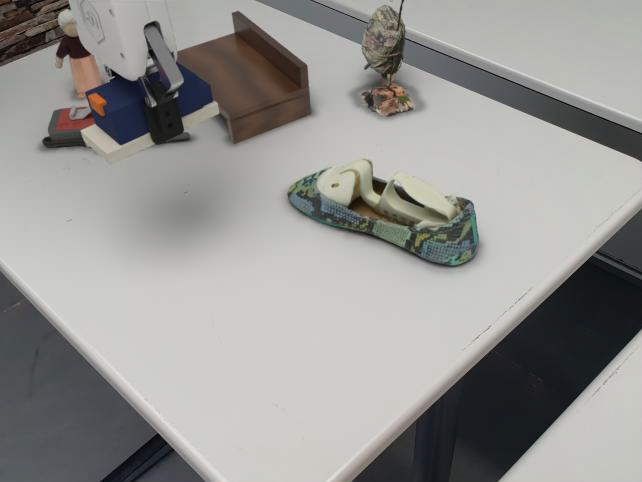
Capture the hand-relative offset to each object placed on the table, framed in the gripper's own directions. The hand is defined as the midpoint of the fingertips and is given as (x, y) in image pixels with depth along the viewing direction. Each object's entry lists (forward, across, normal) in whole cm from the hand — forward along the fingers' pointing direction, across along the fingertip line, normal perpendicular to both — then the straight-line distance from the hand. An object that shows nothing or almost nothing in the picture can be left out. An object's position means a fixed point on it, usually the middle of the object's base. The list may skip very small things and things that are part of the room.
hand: (151, 123), depth 66 cm
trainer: (0, 0, 0) cm, 0 cm away
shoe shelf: (+17, -23, +24) cm, 37 cm away
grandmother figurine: (+18, -40, +9) cm, 45 cm away
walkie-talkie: (+18, -27, +6) cm, 33 cm away
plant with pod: (+18, -8, +39) cm, 43 cm away
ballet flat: (+17, +11, +20) cm, 29 cm away
